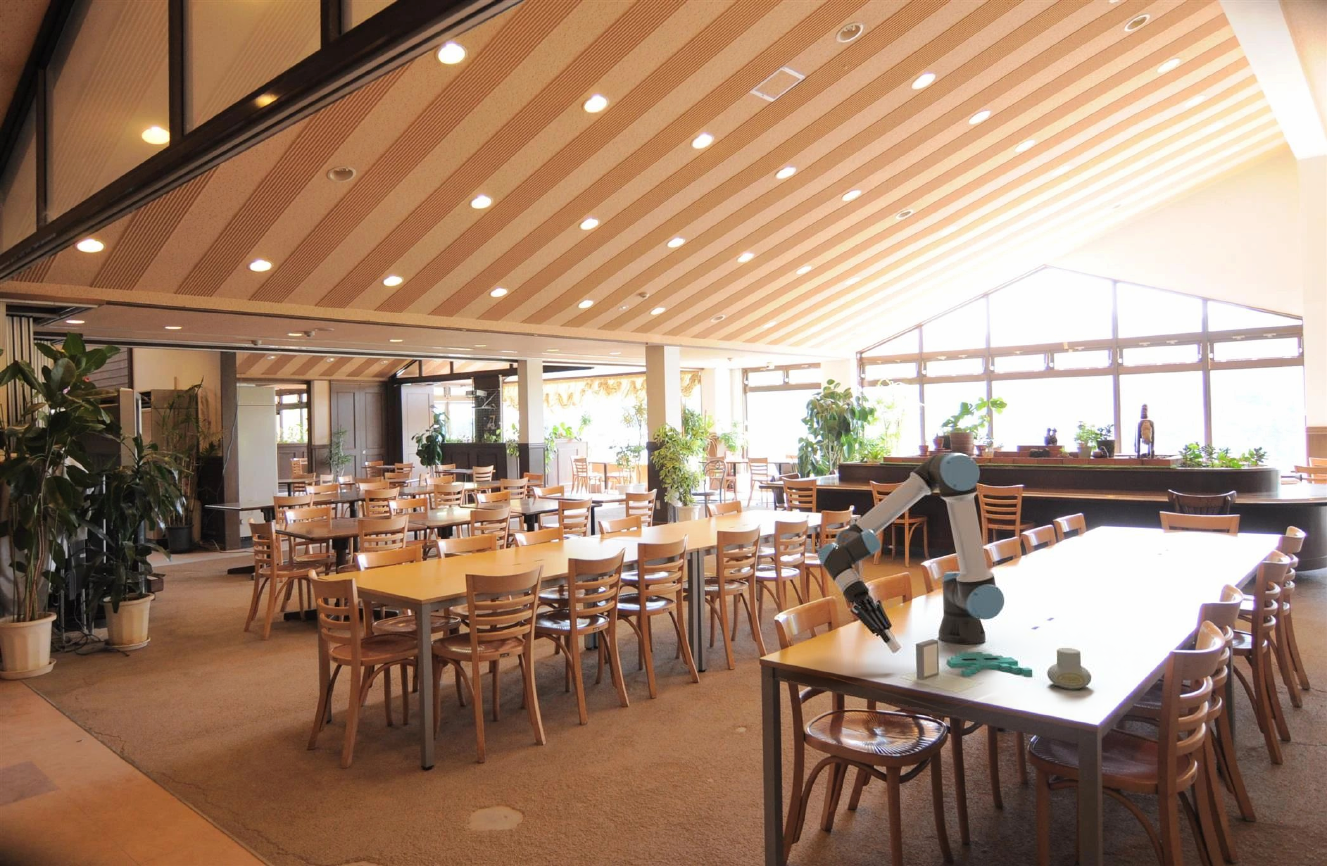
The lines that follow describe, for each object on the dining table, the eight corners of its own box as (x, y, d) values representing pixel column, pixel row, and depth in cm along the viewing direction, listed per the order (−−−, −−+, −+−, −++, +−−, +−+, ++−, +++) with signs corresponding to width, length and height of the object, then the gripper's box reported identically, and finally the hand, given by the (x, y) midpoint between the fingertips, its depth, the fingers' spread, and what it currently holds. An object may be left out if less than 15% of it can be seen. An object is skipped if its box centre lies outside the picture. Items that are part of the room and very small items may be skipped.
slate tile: (916, 678, 236) (915, 643, 236) (932, 673, 241) (932, 639, 241) (922, 680, 234) (922, 645, 234) (939, 674, 239) (938, 640, 239)
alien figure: (1032, 677, 238) (1001, 658, 258) (1032, 669, 238) (1001, 651, 258) (964, 679, 237) (938, 660, 257) (964, 671, 237) (938, 653, 257)
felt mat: (901, 678, 237) (901, 677, 237) (927, 670, 245) (927, 668, 245) (956, 693, 223) (956, 692, 223) (983, 684, 231) (983, 682, 231)
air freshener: (1048, 688, 225) (1048, 652, 225) (1046, 680, 233) (1045, 645, 233) (1093, 692, 221) (1092, 655, 221) (1089, 683, 229) (1088, 648, 229)
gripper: (858, 591, 264) (903, 653, 251) (832, 596, 256) (876, 661, 243) (871, 577, 260) (917, 639, 247) (845, 581, 252) (891, 646, 239)
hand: (897, 650), depth 245 cm, fingers closed
